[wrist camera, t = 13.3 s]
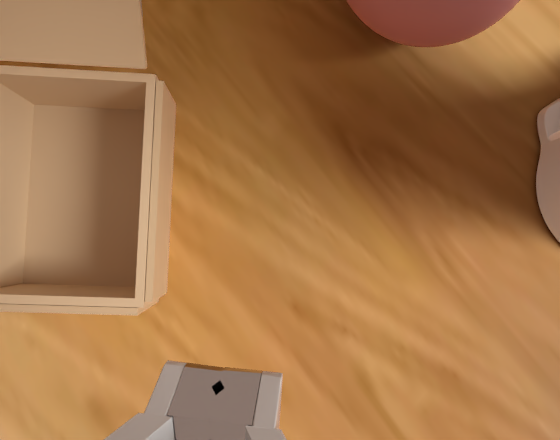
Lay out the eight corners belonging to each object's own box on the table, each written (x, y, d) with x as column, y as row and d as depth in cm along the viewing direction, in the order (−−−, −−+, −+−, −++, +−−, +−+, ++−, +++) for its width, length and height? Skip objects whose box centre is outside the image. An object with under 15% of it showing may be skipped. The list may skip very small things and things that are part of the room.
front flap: (132, -65, 27) (134, -67, 28) (-67, -80, 27) (-61, -81, 27) (145, 69, 32) (147, 66, 32) (-24, 59, 31) (-19, 56, 32)
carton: (171, 301, 40) (151, 316, 32) (10, 296, 39) (-51, 310, 31) (180, 107, 41) (163, 74, 33) (23, 98, 40) (-33, 63, 32)
